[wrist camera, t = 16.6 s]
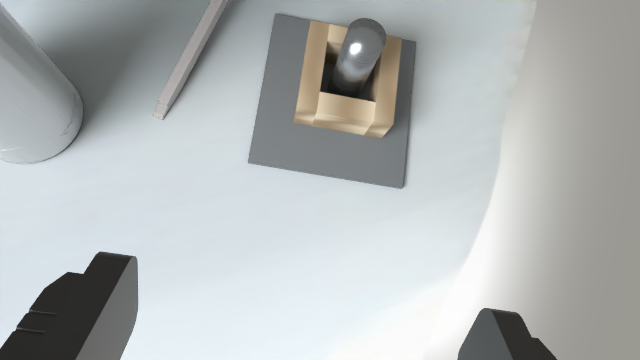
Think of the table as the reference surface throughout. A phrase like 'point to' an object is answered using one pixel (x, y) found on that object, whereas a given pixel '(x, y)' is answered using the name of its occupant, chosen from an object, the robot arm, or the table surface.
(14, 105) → the robot arm
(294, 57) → the mat
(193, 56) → the caliper
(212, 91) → the table surface
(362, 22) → the ball
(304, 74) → the wooden square frame
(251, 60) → the table surface
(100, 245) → the table surface
